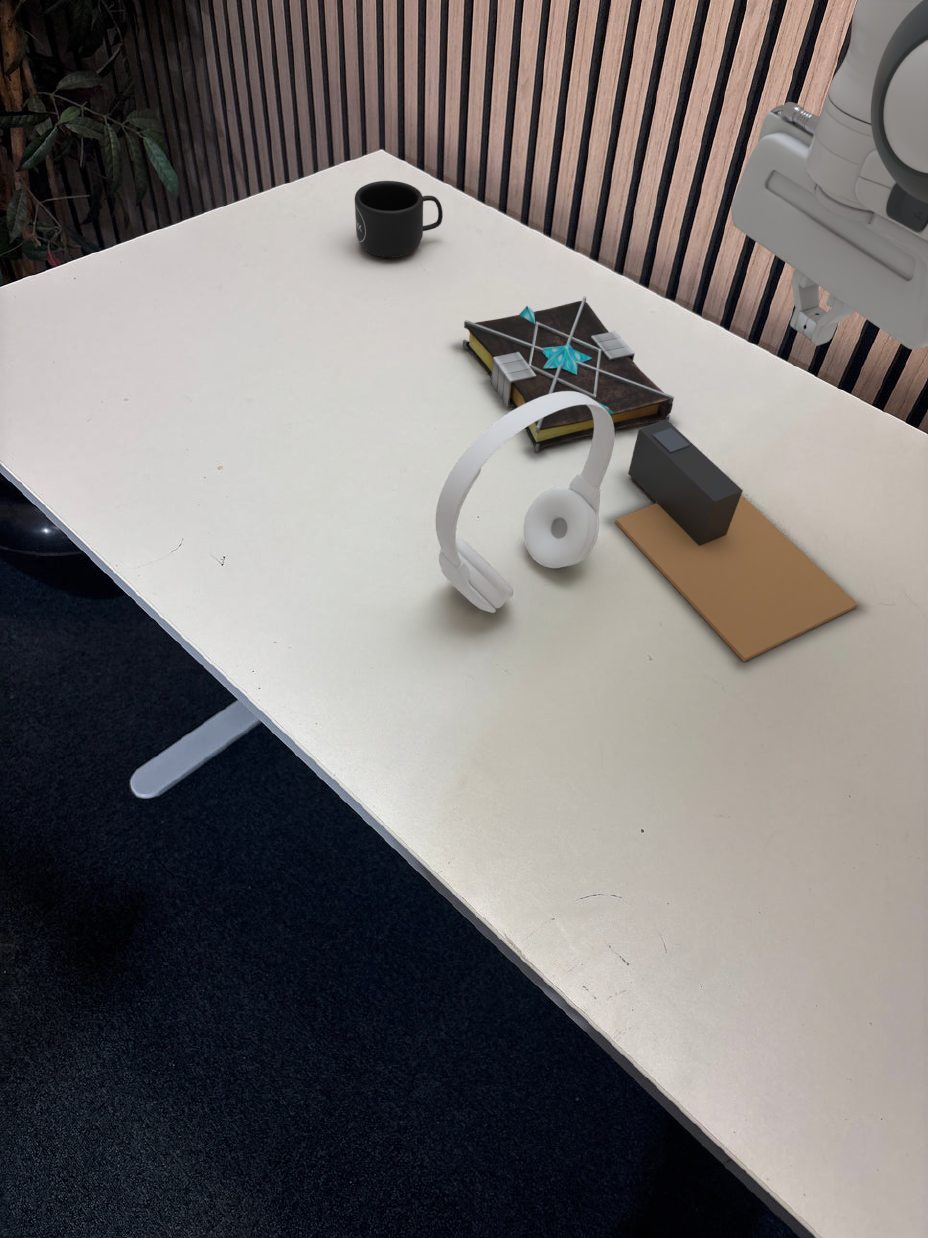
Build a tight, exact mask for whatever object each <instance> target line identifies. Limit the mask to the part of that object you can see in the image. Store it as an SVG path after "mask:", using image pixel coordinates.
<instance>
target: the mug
mask: <svg viewBox="0 0 928 1238" xmlns="http://www.w3.org/2000/svg"><path fill="white" fill-rule="evenodd" d="M428 201H429V202H434V203H435V206H436V208H437V219H436V221H435V222H433V223H429V224H426V225H424V202H428ZM443 212H444V211H443V207H442V203H441V202H440V200H439V199H438V198H437V197H436V196H434V195H423V193H422V192H421V191H420V190H419V189H418V188H417V187H415V186H413V185H411V184H409V183H406V182H402V181H398V180H397V181H396V180H379V181H374V182H370V183H367V184H364V185H362V186H361V187H360V188H358V189H357V190H356V191H355V194H354V214H355V216H354V217H355V234H356V238H357V240H358V242H359V244H360V246H361V248H363V250H364V251H366V252H368V253H369V254H371V255H374V256H378V257H382V258H398V257H403V256H407V255H410V254H411V253H413V252H415V251H416V250H417V249H418V247H419V246H420V244H421V242H422V240H423V235H424V232H426V231H430V230H434V229H437V228H439V227H440V226H441V224H442V222H443V218H444V217H443V215H444V213H443Z"/></svg>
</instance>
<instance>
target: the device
mask: <svg viewBox="0 0 928 1238" xmlns="http://www.w3.org/2000/svg"><path fill="white" fill-rule="evenodd" d="M628 475H629V476H630V477H631V478H632V479H633V480H634V481H635V482H636V483H637V485H639V486H640V487H641V488H642V490H643V491H645V493H647V494H648V496H650V497H651V499H653V500H654V502H655V503H658V504H659V506H660V507H661V508H662V509H663V510H664V511H665V512H666V513H667V514H668V515H669V516H670V517H671V518H672V519H673V520H674V521H675V522H676V523H677V524H678V525H679V526H680V527H681V528H682V529H683V530H684V531H685V532H686V533H687V534H688V535H689V536H690V537H691V538H692V539H693V540H694V541H695V542H696V543H697V544H698V545H699V546H701V545H703V544H705V543H708V542H710V541H713V540H715V539H717V538H720V537H722V536H724V535H726V534H727V532H728V529H729V526H730V524H731V521H732V518H733V515H734V513H735V510H736V507H737V505H738V502H739V499H740V497H741V495H742V494H743V491H744V490H743V489H742V488H741V487H740V486H739V485H738V484H737V483H735V482H734V481H733V480H732V479H731V478H730V477H729V476H728V475H727V474H726V473H725V472H724V471H723V470H722V469H721V468H719V467H718V466H717V464H715V463H714V462H713V461H712V460H711V459H710V458H709V457H708V456H706V455H705V454H704V453H703V452H702V451H701V450H700V449H699V448H698V447H697V446H696V445H695V444H694V443H693V442H692V441H691V440H689V439H688V438H687V437H686V436H685V435H684V434H683V433H682V432H681V431H680V430H679V429H677V428H676V426H674V425H673V424H672V423H671V422H670V420H669V421H668V420H667V419H665V420H663V421H662V420H660V421H656V422H653V423H651V424H649V425H646V426H643V427H640V428H638V431H637V435H636V440H635V444H634V447H633V452H632V456H631V461H630V465H629V469H628Z"/></svg>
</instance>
